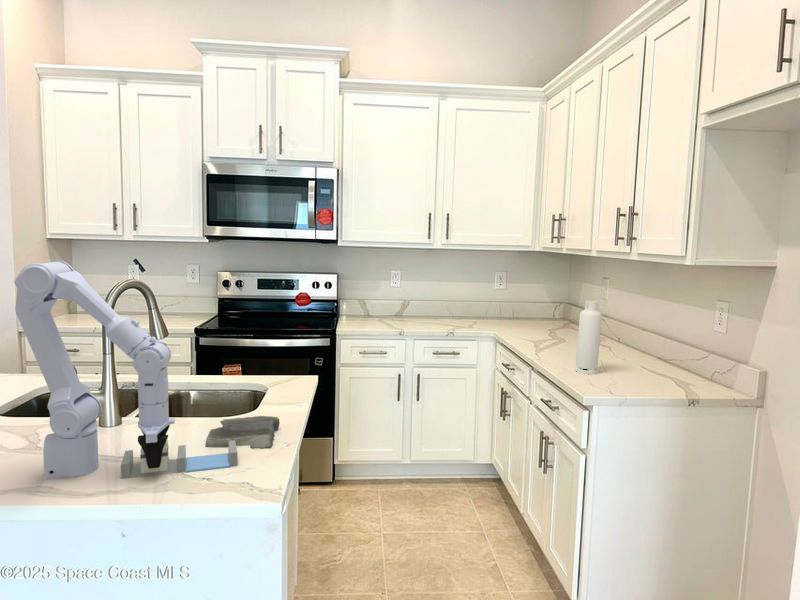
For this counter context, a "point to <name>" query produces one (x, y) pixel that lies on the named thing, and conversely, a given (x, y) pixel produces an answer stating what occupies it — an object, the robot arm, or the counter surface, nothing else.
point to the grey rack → (182, 462)
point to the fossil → (244, 432)
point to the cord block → (162, 466)
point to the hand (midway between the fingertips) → (155, 462)
